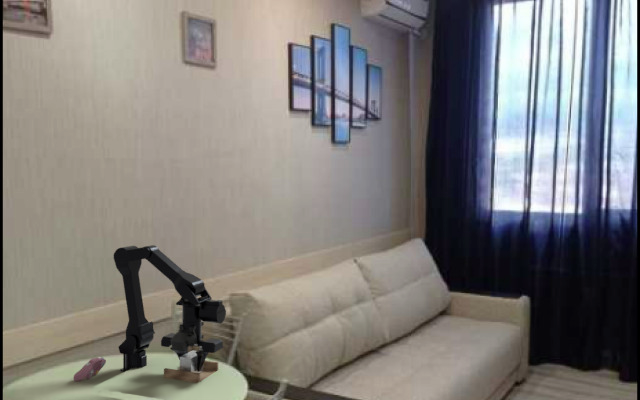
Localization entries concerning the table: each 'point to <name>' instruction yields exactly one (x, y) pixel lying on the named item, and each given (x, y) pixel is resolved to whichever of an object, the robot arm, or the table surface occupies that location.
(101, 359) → the pink elongated piece
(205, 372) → the brown wooden tray
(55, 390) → the table surface
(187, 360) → the metal block
